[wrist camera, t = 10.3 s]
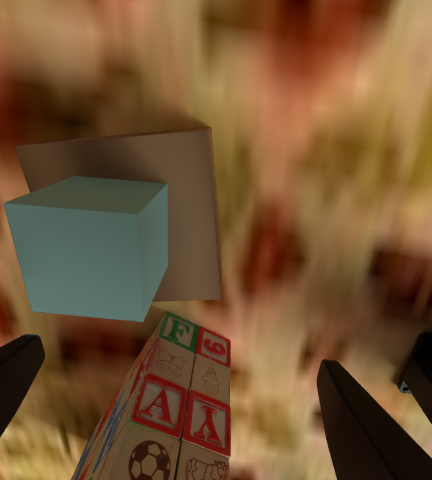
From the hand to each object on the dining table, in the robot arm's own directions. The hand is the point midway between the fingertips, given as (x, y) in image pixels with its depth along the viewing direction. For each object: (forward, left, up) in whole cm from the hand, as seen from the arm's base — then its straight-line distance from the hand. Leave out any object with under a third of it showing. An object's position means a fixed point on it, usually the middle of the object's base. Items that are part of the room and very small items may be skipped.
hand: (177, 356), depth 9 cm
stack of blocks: (+5, +19, -12) cm, 23 cm away
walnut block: (+4, -1, -12) cm, 13 cm away
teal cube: (+5, -1, -8) cm, 9 cm away
